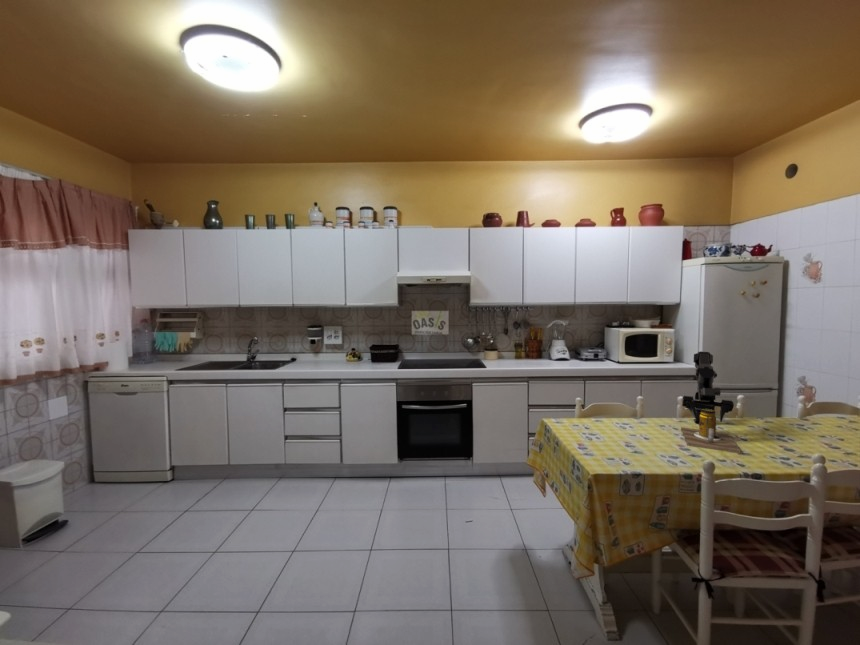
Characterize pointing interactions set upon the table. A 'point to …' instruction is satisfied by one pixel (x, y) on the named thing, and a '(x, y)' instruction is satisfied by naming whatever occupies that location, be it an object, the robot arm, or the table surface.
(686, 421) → the table surface
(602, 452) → the table surface
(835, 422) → the table surface
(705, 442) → the locating plate
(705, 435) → the condiment
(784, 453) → the table surface
